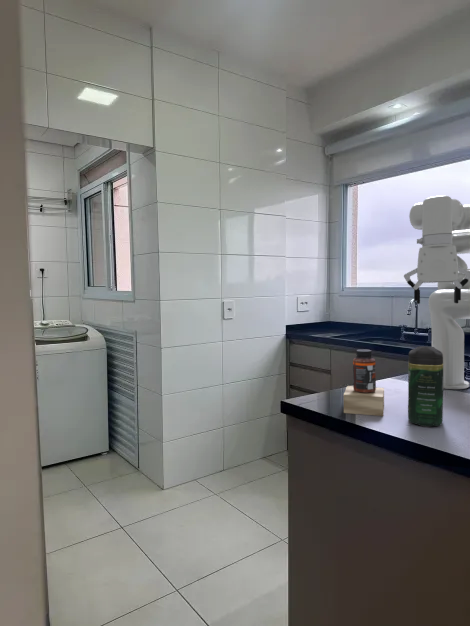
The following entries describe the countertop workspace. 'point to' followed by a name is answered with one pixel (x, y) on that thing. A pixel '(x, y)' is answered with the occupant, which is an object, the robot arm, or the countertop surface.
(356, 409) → the beech block
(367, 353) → the supplement bottle
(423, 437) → the countertop surface
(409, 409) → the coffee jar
